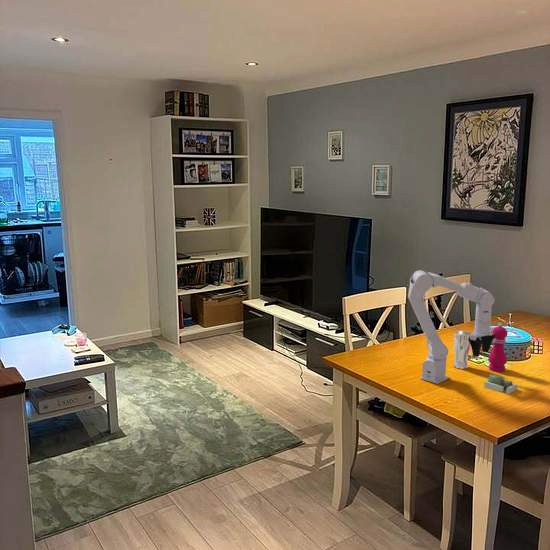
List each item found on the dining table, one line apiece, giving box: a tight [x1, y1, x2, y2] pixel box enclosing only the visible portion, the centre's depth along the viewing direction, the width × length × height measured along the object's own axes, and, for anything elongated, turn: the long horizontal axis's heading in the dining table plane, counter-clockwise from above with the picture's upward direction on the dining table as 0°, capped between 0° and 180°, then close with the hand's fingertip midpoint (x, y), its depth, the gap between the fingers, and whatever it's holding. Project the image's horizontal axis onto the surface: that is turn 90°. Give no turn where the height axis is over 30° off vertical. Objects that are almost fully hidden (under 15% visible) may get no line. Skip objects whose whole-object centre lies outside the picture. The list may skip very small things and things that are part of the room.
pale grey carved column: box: [452, 329, 472, 370], centre depth 230 cm, size 7×7×15 cm
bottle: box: [487, 373, 514, 388], centre depth 209 cm, size 4×4×8 cm
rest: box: [483, 381, 518, 395], centre depth 208 cm, size 7×10×2 cm
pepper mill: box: [487, 322, 508, 373], centre depth 226 cm, size 7×7×20 cm
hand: (480, 353), depth 216 cm, fingers open, 7 cm apart
